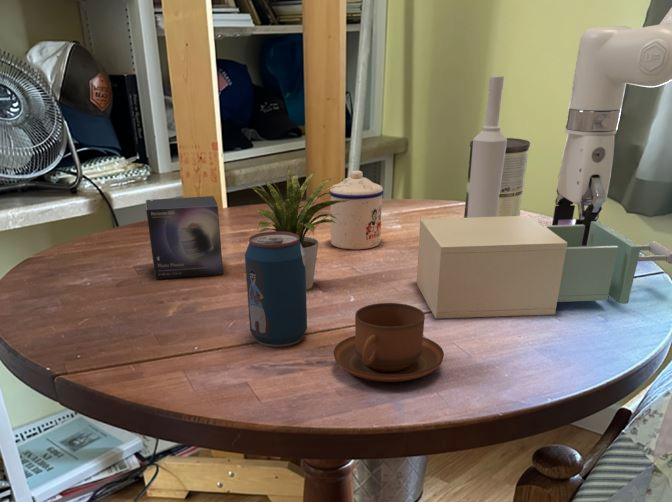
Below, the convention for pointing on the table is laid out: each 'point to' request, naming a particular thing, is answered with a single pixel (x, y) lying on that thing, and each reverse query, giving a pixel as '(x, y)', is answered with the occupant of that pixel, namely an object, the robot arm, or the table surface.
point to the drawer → (601, 263)
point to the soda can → (276, 288)
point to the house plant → (296, 216)
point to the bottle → (488, 158)
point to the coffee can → (508, 178)
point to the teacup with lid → (356, 213)
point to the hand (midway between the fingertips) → (570, 237)
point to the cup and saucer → (388, 344)
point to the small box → (185, 237)
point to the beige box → (489, 266)
